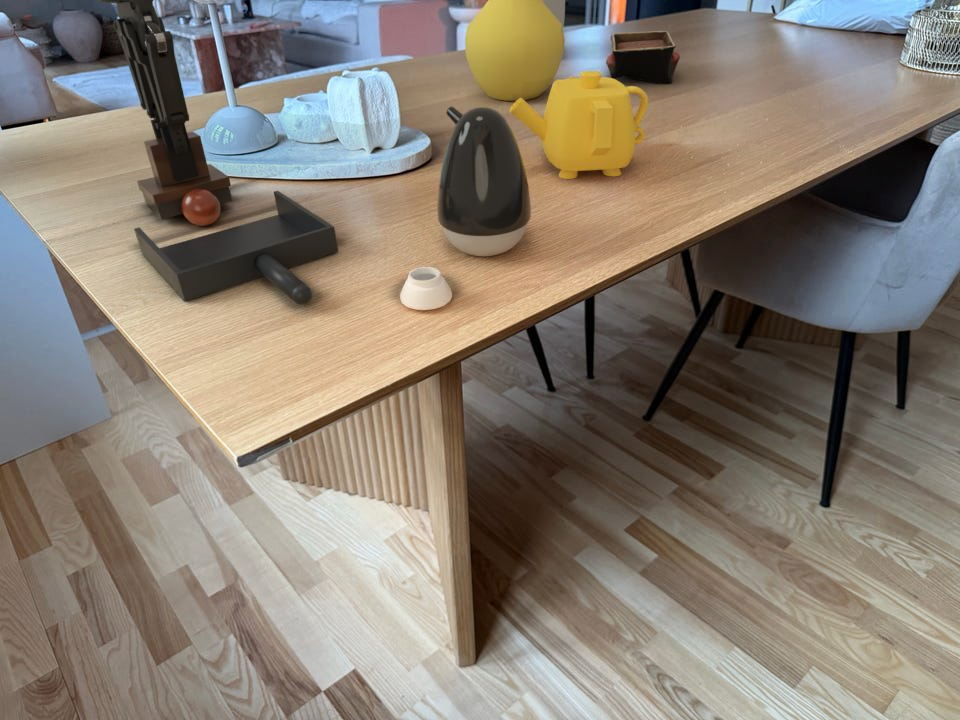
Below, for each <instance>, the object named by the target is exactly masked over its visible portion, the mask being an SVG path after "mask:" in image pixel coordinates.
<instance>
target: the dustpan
mask: <svg viewBox="0 0 960 720" xmlns="http://www.w3.org/2000/svg"><path fill="white" fill-rule="evenodd" d="M273 196H274V202H275V206H276V210H277V214H276V215H271V216H269V217H265V218H260V219H258V220H254V221H251V222H247V223H244V224H239V225H237V226H233V227H230V228H226V229H223V230H219V231H215V232H211V233H209V234H205V235H201V236H197V237H194V238H190V239H187V240H183V241H180V242H177V243H173V244H169V245H165V246H162V247H159V246H158V245H157V244H156V243H155V242H154V241H153V239H151V238H150V237H149V236H148V235H147V234H146V232H145V231H143V229H142V228H141V227H135V228H134V229H133V230H134V233H135V236H136V240H137V242H138V246H139V248H140V251H141V255H142V256H143V257H144V258H145V259H146V261H147V262H148V263H149V264H150V265H151V267H153V268H154V269H155V270H156V272H157V273H158V274H159V275H160V276H161V277H162V278H163V280H164V281H165V282H166V283H167V284H168V285H169V286H170V287H171V289H172V290H173V291H174V292H175V294H177V296H179V298H180V299H181V300H182V301H184V302H187V301H190V300H193V299H197V298H199V297H202V296H205V295H209V294H212V293H215V292H218V291H221V290H224V289H227V288H230V287H233V286H237V285H239V284H243V283H245V282H248V281H252V280H255V279H257V278H261V277H265V278H266V279H267V280H268V281H269V282H270V283H272V284H273V285H274V286H275V287H276V288H278V289H279V290H280V291H281V292H283V293H284V294H285V295H286V297H288V298H289V299H291V300H292V301H293V302H294V303H295V304H297V305H306V304H308V303H310V301H311V300H312V298H313V290H312V288H311V287H310V286H309V285H308V284H306V283H305V282H304V281H303V280H302V279H300V278H299V277H298V276H297V275H296V274H294V273H293V272H292V271H290V270H289V269H288V268H292V267H294V266H298V265H301V264H304V263H308V262H310V261H314V260H316V259H320V258H322V257H326V256H328V255H331V254H335V253H337V252H339V247H338V242H337V236H336V228H335V226H334V225H332V224H331V223H330V222H328V221H326V219H323V218H322V217H320V216H318V215H317V214H316V213H314V212H313V211H311V210H310V209H307V208H306V207H304V206H302V205H301V204H300V203H298V202H297V201H295V200H293V199H292V198H290V197H289V196H287V195H286V194H284V193H283V192H281V191H279V190H274V191H273Z"/></svg>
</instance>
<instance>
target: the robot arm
mask: <svg viewBox="0 0 960 720" xmlns="http://www.w3.org/2000/svg"><path fill="white" fill-rule="evenodd" d="M96 1H97V2H99V3H104V4H115V5H116V10H117V15H118V18H115V20H114V21H113V28H114V30H115V31H116V34H117V36H118V39H119V41H120V44H121V46H122V50H123V53H124V56H125V59H126V62H127V65H128V67H129V68H128V69H129V71H130V74H131V78H132V80H133V83H134V87H135V89H136V93H137V96H138V100H139V103H140V107H141V109H142V110H143V111H146V115H147V116H148V118H149V119H151V120H150V123H151V126H152V130H153V134H154V137H155V139H159V138H163V141H164V145H165V148H166V152H167V155H168V159H169V162H170V166H171V169H172V173H173V176H174V180H176V181H180V180H184V179H188V178H192V177H196V176H198V172H197V169H196V165H195V161H194V157H193V154H192V150H191V146H190V142H189V139H188V135H187V133H188V131H187V128H186V122H189V121H190V115H189V111H188V107H187V103H186V99H185V95H184V94H185V93H184V89H183V86H182V81H181V76H180V72H179V68H178V64H177V59H176V54H175V45H174V36H173V33H171V31H170V30H166V27H165V25H164V21H163V19H162V17H160V16H158V13H157V10H156V8H155V6H154V0H96Z"/></svg>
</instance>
